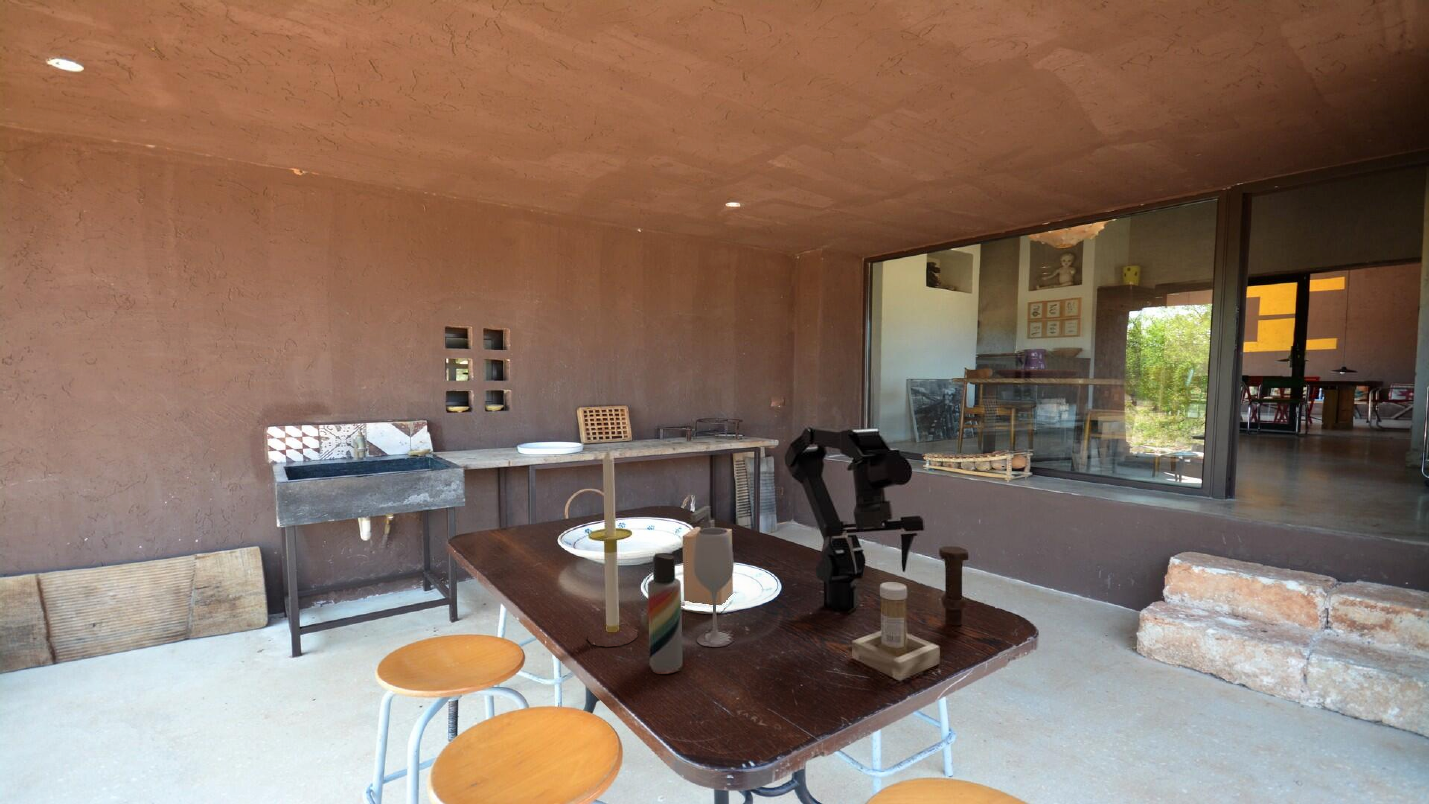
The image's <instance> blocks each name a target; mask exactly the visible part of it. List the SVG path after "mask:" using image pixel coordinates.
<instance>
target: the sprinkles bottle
mask: <svg viewBox="0 0 1429 804" xmlns="http://www.w3.org/2000/svg"><path fill="white" fill-rule="evenodd" d="M879 595H880V631H881V642H882V650H883V651H886V652H888V653H890V654H892V655H895V656H897V657H900V656H903V655H905V654H907V633H908V626H907V597H908V588H907V586H906V585H905V584H904V583H901V582H896V581H887V582H882V583H881V584H880V585H879Z"/></svg>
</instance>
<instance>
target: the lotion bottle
mask: <svg viewBox="0 0 1429 804" xmlns="http://www.w3.org/2000/svg"><path fill="white" fill-rule="evenodd" d="M675 560H676V558H675V555H673V554H671V553H668V552H657V553H654V556H653V557H652V575H653V577H652V578H653V579H650V580H649V582H648V584H647V604H648V607H647V608H648V609H647V611H648V644H649V645H648V646H649V647H648V648H649V650H648V651H649V652H648V653H649V667H650V666H651V667H652V669H654V670H659V671H672V670H676V669H678V668H679V667H681V666H682V667H683V630H682V629H683V628H682V625H683V623H682V618H683V617H682V583H681V581H680V579H679V578H676V561H675Z"/></svg>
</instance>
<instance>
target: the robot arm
mask: <svg viewBox="0 0 1429 804" xmlns="http://www.w3.org/2000/svg"><path fill="white" fill-rule="evenodd" d="M827 448H831V449H837V450H839V453H841V454H842V455H844V456H845V457H848V458H849V459H852V461H850V463H849V464H848V465H847V468H846V470H847V471H848V472H852V477H853V486H854V495H855V502H856V503H855V506H854V509H853V513H852V514H853V519H854V523H848V521H844V520H843V521H841V520H840V517H839V514H838V512H837V509H836V507H835V504H834V501H833V499H832V498H831V495H830V492H829V490H828V488H827V485H826V482H825V481H824V477H823V471H824V468H825V462H824V460H825V458H826V456H827V454H828V451H827ZM784 463H785V466H786V468H787V469H788V471H789V473H790V475H791V477H792V478H793V479H794V480H796V481H797V482H798V483H800V484H801V485H802V487H803V491H804V492H805V493H804V494H805V495H806V498H807V500H808V503H809V505H810V509H811V510H812V512H813V515H814V519H815V522H816V523H817V525H818V529H819V532H820V534H821V537H822V539H823V540H822V541H823V542H822V543H823V544H822V546H821V547H822V549H821V551H820V552H821V553H820V554H821V558H822V559H821V561H820V562H819V563H818V565H816V567H815V571H816V577H817V579H819V580H820V581H823V586H822V587H823V589H822V591H823V602H822V603H821V604H820V605H819V606H820V609H825V610H830V611H834V612H839V613H845V614H850V613H851V612H852V611H853V610H855V608H856V607H858V606H859V605H860V604H859V585H857V584H856V583H857V581H856V580H862V579H863V576H864V571H865V567H866V556H865V554H864V551H865V550H864V548H862V545H861V544H860V541H859V538H858V537H859V536H857V535H856V534H855V533H857V534H858V533H869V532H885V531H887V532H888V531H899V530H901V531H902V533H900V541H901V542H900V543H901V544H900V545H901V548H900V549H901V569H902V572H903V573H905V572H906V570H907V564H908V559H909V554H910V549H911V547H912V544H913V540H914V538H915V537H919V536H920V532H921V531H927V530H926V523H925V518H923V517H922V516H920V515H912V516H911V515H910V516H900V520H893V510H892V509H893V508H892V504H891V500H887V499H886V491H885V489H887V488H894V487H899V486H903V485H904V486H905V485H906V484H907V483H909V482H910V480H911V478H912V475H913V467H912V465H911V463H910V462H909V460H908V459H907V458H906V457H905V456H903V455H901V451H900V449H899V448H891V447H890V445H889V444H888V443H887V441H886V440H885V438H884V437H883V436H882V434H880V430H879V429H878V428H876V427H868V428H866V427H865V428H850V429H836V428H829V427H824V426H807V427H806V428H804V429H803V431H802V433H801V435H799V436H798V437H797V438H796V439H794V440H793V441H792V442H791V443H790V444H789V445H788V448H787V450H786V452H785V454H784ZM883 524H884V525H883Z"/></svg>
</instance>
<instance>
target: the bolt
mask: <svg viewBox="0 0 1429 804" xmlns="http://www.w3.org/2000/svg"><path fill="white" fill-rule="evenodd" d="M938 551H939V552H938V555H939V556H940V559H941V560H944V567H945V568H944V569H945V570H944V575H945V578H944V579H945V580H944V581H945V582H944V583H945V584H944V585H945V590H944V591H945V593H943V594H941V604H942V606H943V607H944V610H945V623H946V624H947V623H948V625H949V626H960V625H962V624H963V610H964V609H965V608H967V599H966V597H965V596H964V595H963V565H964V561H968V560H969V551H968V549H966V548H964V547H960V546H952V545H951V546H947V545H946V546H942V547H940V548H939V550H938Z"/></svg>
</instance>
